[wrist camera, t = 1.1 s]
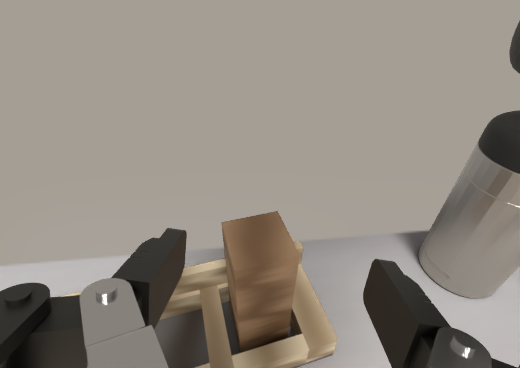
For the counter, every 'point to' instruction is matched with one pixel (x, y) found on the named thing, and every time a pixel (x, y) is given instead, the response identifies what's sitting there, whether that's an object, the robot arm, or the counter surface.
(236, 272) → the walnut block
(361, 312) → the counter surface
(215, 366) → the box
